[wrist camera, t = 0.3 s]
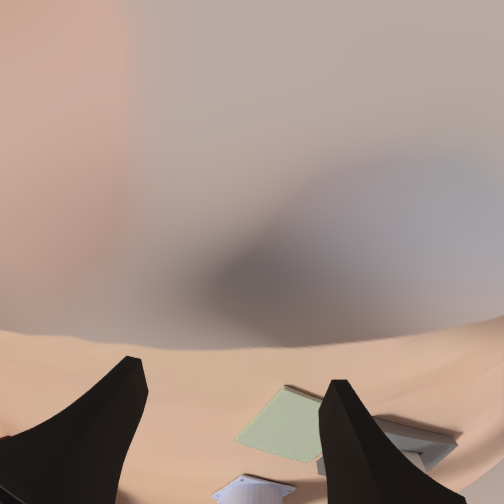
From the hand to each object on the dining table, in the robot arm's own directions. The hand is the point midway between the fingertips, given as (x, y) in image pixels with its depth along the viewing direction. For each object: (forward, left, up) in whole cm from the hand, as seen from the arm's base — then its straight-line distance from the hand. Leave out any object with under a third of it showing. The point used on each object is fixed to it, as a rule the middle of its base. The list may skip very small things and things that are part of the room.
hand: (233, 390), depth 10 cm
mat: (-11, -11, -11) cm, 19 cm away
